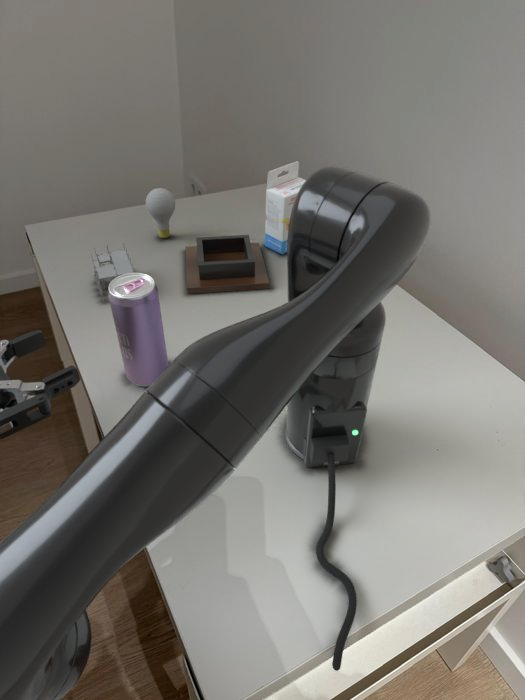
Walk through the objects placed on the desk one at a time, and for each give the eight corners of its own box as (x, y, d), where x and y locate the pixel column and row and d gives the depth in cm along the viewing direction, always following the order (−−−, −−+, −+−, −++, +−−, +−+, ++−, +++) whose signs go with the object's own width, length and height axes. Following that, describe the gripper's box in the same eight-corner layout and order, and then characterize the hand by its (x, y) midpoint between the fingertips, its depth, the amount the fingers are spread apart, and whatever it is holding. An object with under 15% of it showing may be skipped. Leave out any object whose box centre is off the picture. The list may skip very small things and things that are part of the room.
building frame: (102, 302, 85) (94, 271, 81) (94, 277, 91) (87, 247, 87) (139, 294, 87) (134, 264, 83) (129, 270, 93) (124, 241, 89)
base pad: (269, 288, 89) (269, 267, 86) (187, 294, 87) (185, 273, 85) (258, 247, 99) (259, 228, 97) (185, 252, 98) (183, 232, 95)
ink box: (282, 256, 97) (285, 180, 87) (264, 246, 100) (265, 171, 90) (312, 241, 102) (318, 167, 92) (294, 232, 104) (298, 159, 95)
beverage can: (178, 373, 73) (166, 284, 63) (144, 395, 69) (126, 305, 59) (151, 353, 76) (136, 266, 66) (118, 374, 72) (96, 285, 63)
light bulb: (176, 244, 100) (171, 195, 93) (148, 244, 100) (141, 195, 93) (180, 231, 104) (175, 183, 97) (153, 230, 104) (146, 183, 97)
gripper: (-96, 410, 58) (41, 348, 67) (-53, 491, 51) (96, 409, 59) (-127, 361, 53) (25, 301, 62) (-85, 442, 46) (82, 360, 54)
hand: (60, 354), depth 60 cm, fingers open, 8 cm apart
